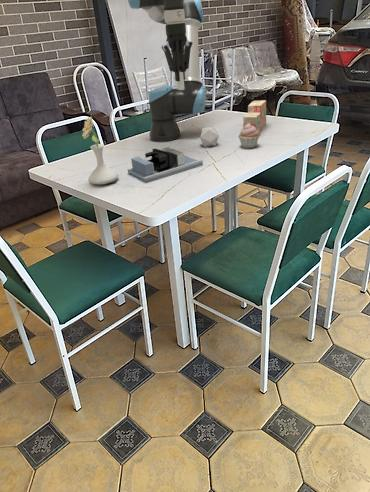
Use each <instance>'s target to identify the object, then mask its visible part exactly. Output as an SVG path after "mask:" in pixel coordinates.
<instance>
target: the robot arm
mask: <svg viewBox="0 0 370 492" xmlns="http://www.w3.org/2000/svg"><path fill="white" fill-rule="evenodd" d="M128 5H129V7H130V9H133V10H135V9H136V10H138V9H142V10H143V11H145V12H146V13H147V15H148V17H149V18H150V19H151V20H152V21H154V22H156V23H159V24H162V25H165V35H166V40H165V41H166V42H165V43H164V44H163V45H161V49H162V51H163V52H164V55H165V59H166V62H167V66H168V68H169V71H170V72H172V73H173V74H174V79H175V80H174V81H175V82H176V84H177V85H176V86H177V88H174V87H173V85H163V86H160V87H156V88H152V89H151V90H150V91H149V92H148V105H149V111H150V112H149V113H150V119H151V124H150V125H151V126H150V131H149V140H151V141H152V142H158V143H159V142H171V141H175V140H177V139H180V137H181V136H182V135H181V130H180V127H179V125H178V122H177V120H176V116H177V115H178V116H179V115H195V114H202V113H203V112H204V111H205V109H206V103H207V101H206V100H207V88H206V86H204V85H203V82H202V81H201V80H200V62H199V61H200V60H199V57H200V56H199V55H200V54H199V53H200V52H199V30H200V29H201V27H202V23H203V22H205V17H204V12H203V5H202V0H128Z"/></svg>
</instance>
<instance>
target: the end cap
mask: <svg viewBox="0 0 370 492" xmlns="http://www.w3.org/2000/svg"><path fill="white" fill-rule="evenodd" d="M144 155H145V159H146V160H147V161H149V162H152V163H153V167H154V171H157V172H163V171H166V170H169V169H171V168H172V167H173V165H174V163H175V156H174V154H173V153H170V152H166V151H163V150H162V149H159V148H152V151H150V152H149V151H148V152H146V153H145V154H144ZM149 157H151V158H150V159H148V158H149Z"/></svg>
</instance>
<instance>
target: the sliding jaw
mask: <svg viewBox="0 0 370 492" xmlns="http://www.w3.org/2000/svg"><path fill="white" fill-rule="evenodd" d="M161 150H163V151H166V152H170V153H173V154H174V156H175V163H174V166H176V167H179V166H182V165H185V162H184V155H185V153H184V152H183V151H179V150H177V149H174V148H171V147H170V146H169V147H165V148H162V149H161Z"/></svg>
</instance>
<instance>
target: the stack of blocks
mask: <svg viewBox="0 0 370 492" xmlns="http://www.w3.org/2000/svg"><path fill="white" fill-rule="evenodd" d="M242 118H243V125H242V129H243V128H244V126H245V125H247V124H248V123H250V125H252V126H254V127H255V128H256V129H257V130H258V132H259V133H258V134H260V133H262V131H263V130H264V129H265V127H266V126H267V100H265V99H262V100H253V101H251V102H250V103H249V104H248V106H247V113H246V114H245V115H244V116H243V117H242Z"/></svg>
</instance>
